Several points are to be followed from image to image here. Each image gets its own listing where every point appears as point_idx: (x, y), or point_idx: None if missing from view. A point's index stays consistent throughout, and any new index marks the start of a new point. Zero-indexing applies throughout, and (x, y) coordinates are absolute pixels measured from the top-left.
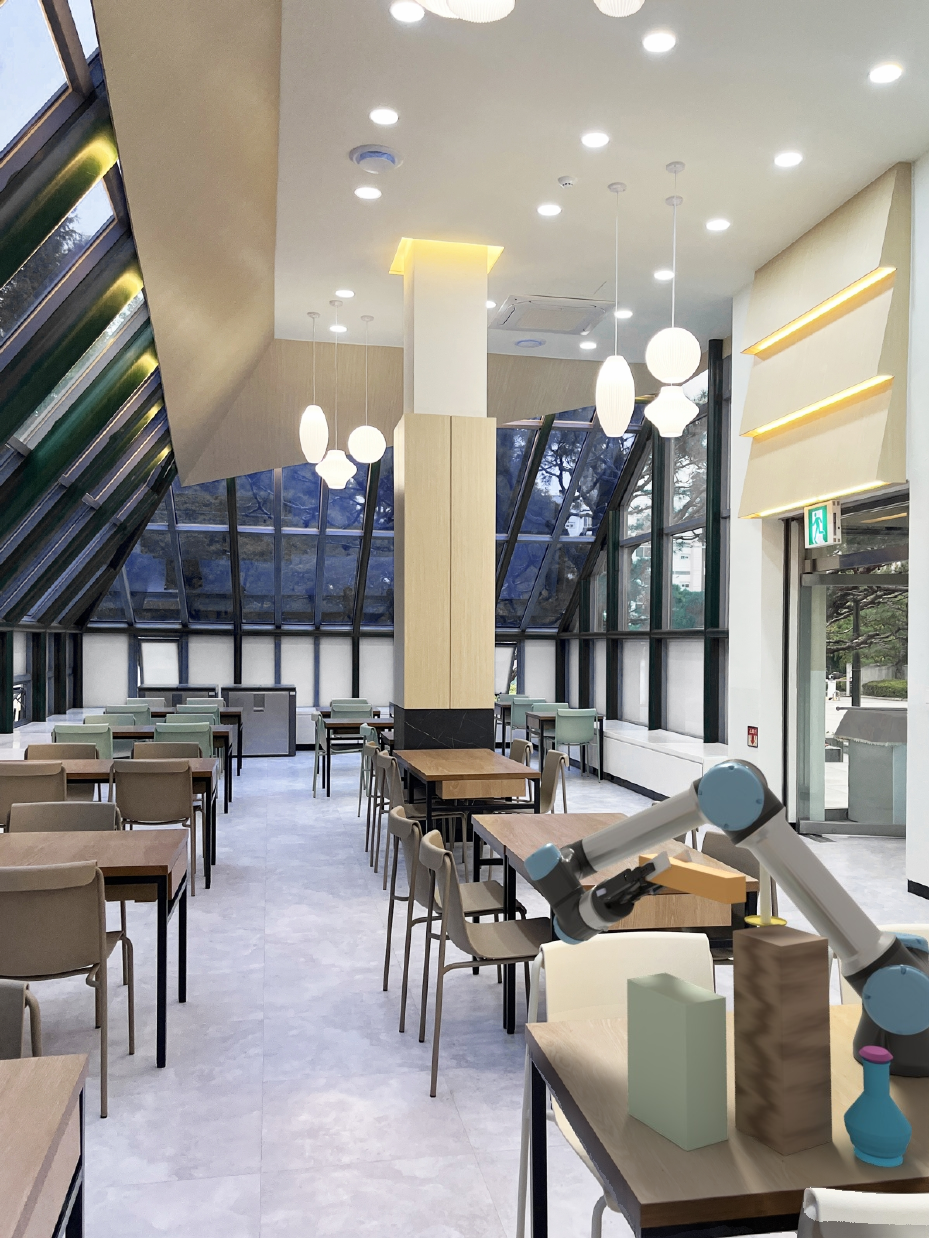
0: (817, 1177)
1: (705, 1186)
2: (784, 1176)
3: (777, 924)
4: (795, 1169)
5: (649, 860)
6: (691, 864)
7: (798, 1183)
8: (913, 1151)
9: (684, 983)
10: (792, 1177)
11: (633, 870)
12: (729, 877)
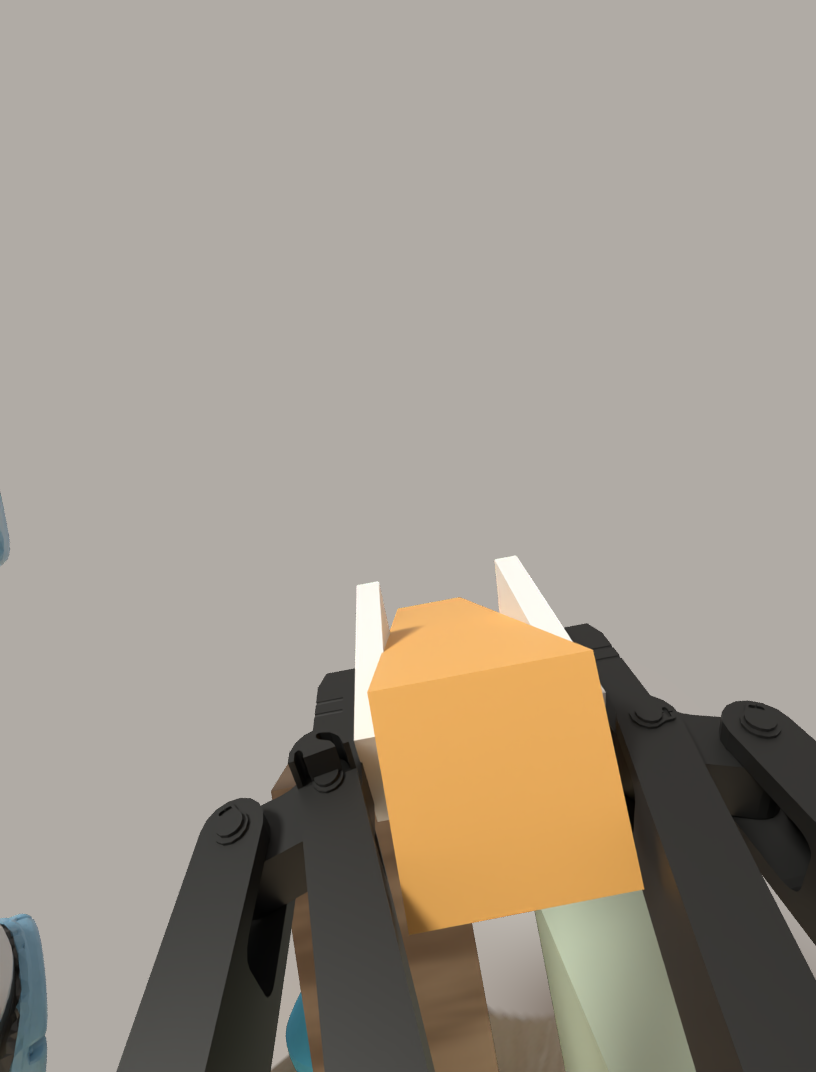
0: (497, 1036)
1: None
2: (549, 1053)
3: (280, 787)
4: (517, 1069)
5: (563, 630)
6: (423, 621)
7: (538, 1029)
8: (287, 1066)
9: (600, 990)
10: (537, 1047)
11: (695, 755)
12: (448, 599)
